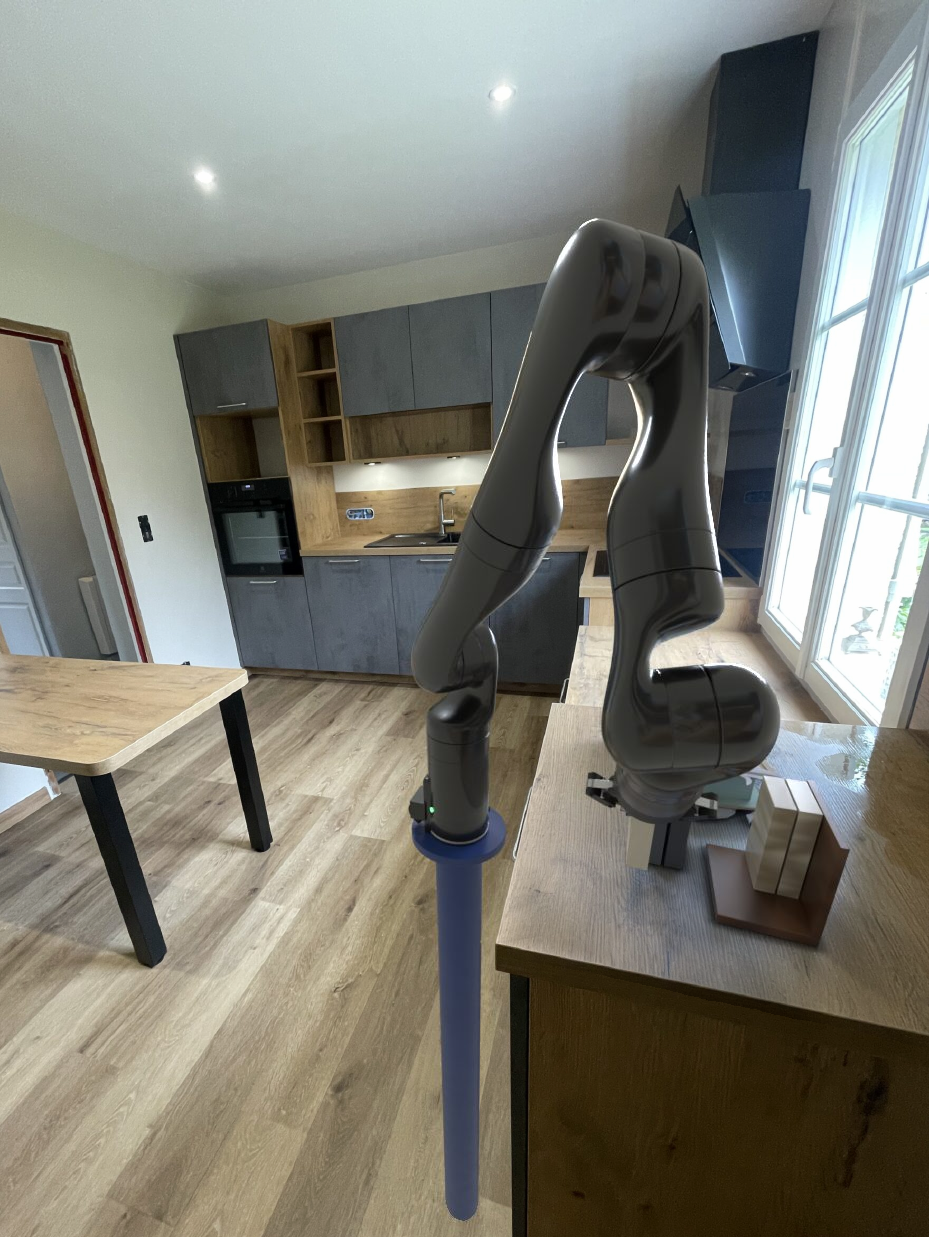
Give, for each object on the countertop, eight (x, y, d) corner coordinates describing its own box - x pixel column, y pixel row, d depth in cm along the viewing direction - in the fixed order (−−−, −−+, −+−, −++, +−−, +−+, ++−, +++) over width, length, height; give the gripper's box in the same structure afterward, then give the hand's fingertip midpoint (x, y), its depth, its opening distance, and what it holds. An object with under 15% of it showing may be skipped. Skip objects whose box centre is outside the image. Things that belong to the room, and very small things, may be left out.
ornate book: (605, 733, 106) (630, 821, 79) (610, 689, 103) (637, 763, 75) (728, 741, 102) (799, 836, 74) (737, 695, 99) (815, 776, 71)
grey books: (642, 861, 71) (655, 778, 66) (643, 830, 77) (654, 752, 72) (682, 869, 69) (697, 785, 64) (679, 837, 75) (693, 757, 71)
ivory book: (625, 866, 64) (638, 781, 59) (627, 830, 70) (638, 751, 65) (647, 871, 63) (661, 785, 58) (647, 834, 69) (660, 754, 64)
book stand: (715, 922, 61) (736, 829, 56) (704, 850, 73) (721, 767, 68) (818, 947, 58) (850, 849, 53) (790, 867, 69) (814, 780, 64)
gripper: (743, 750, 49) (707, 791, 64) (586, 728, 54) (587, 770, 69) (740, 833, 46) (703, 854, 61) (575, 801, 51) (579, 828, 66)
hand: (642, 810), depth 65 cm, fingers closed on ivory book, 2 cm apart
